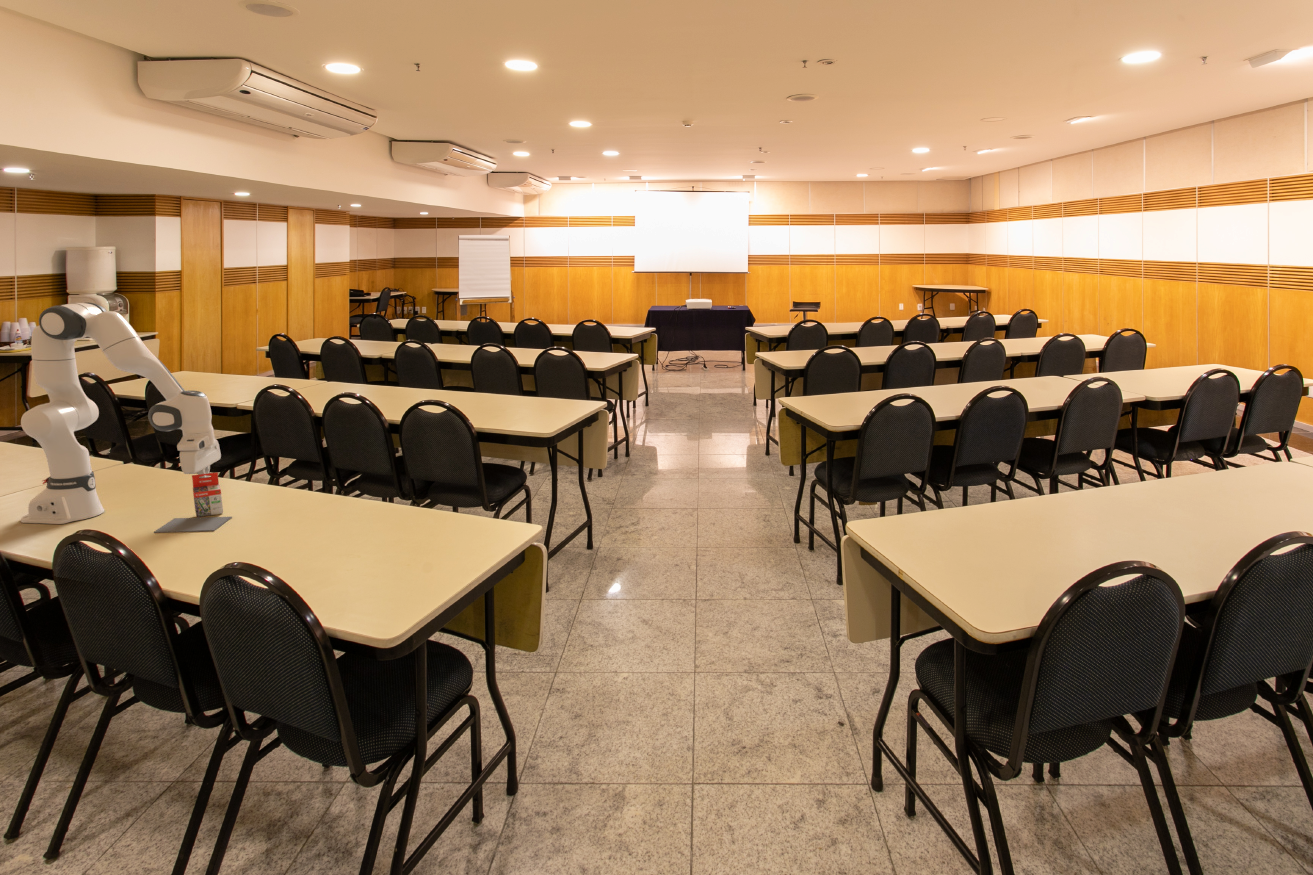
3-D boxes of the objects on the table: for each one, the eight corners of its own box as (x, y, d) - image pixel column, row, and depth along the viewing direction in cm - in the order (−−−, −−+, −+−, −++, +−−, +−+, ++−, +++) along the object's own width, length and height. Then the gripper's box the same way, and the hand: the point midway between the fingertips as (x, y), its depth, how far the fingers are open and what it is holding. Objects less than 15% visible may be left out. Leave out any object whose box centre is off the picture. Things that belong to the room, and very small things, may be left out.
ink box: (223, 513, 259) (219, 477, 252) (196, 517, 254) (191, 480, 248) (222, 507, 261) (218, 471, 255) (195, 511, 257) (190, 475, 250)
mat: (153, 532, 240) (153, 531, 240) (174, 519, 253) (174, 518, 253) (214, 531, 242) (214, 529, 242) (231, 517, 255) (231, 516, 255)
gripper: (203, 432, 262) (208, 471, 265) (174, 447, 242) (180, 488, 245) (223, 432, 262) (228, 471, 266) (195, 446, 243) (200, 488, 246)
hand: (204, 479), depth 255 cm, fingers closed
